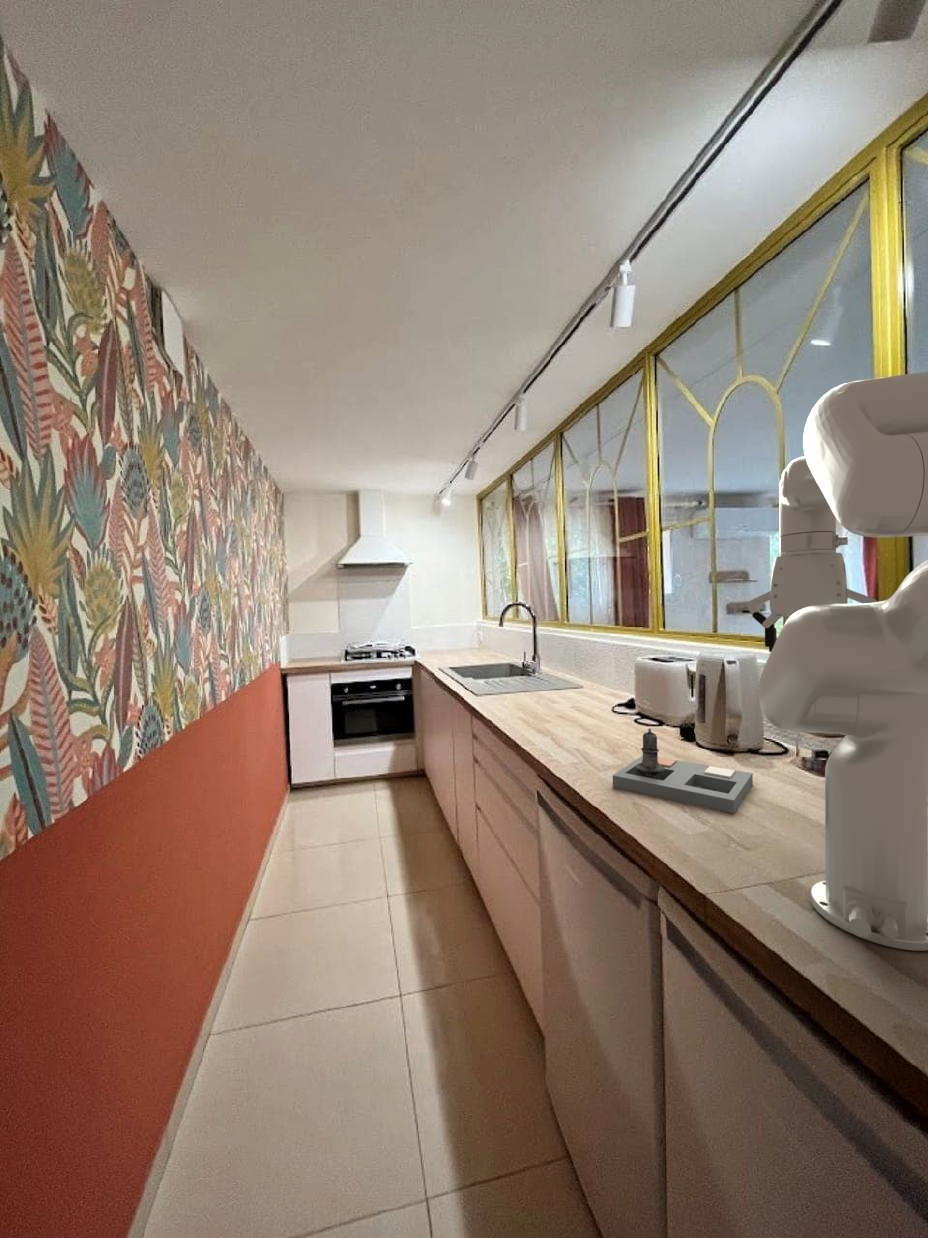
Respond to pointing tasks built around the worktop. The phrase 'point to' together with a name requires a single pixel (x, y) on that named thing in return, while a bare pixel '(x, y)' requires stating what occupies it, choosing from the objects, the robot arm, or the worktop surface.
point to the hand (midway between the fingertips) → (807, 652)
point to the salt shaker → (650, 758)
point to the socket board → (689, 784)
